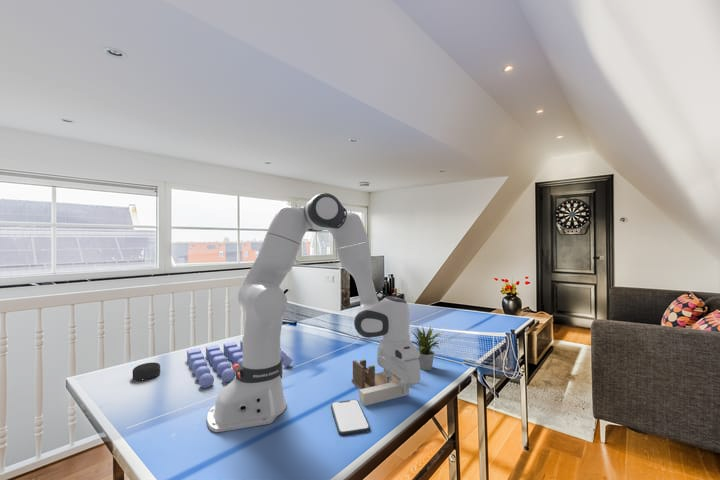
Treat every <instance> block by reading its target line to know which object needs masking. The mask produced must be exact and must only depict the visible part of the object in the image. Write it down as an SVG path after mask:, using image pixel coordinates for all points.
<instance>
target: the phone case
mask: <svg viewBox="0 0 720 480" xmlns="http://www.w3.org/2000/svg"><path fill="white" fill-rule="evenodd" d="M330 410H331V414H332V417H333V420H334V423H335V426H336V430H337V434H338V436H340V437H345V436H352V435H353V436H354V435H358V434H366V433H369V432H371V426H370V424H369V421H368V419H367V418H366V415H365V413H364V409H363V407H361V403H360V401H359V400H357V399H350V400H349V399H348V400H342V401H333V402H331V404H330Z"/></svg>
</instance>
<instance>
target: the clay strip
mask: <svg viewBox="0 0 720 480" xmlns="http://www.w3.org/2000/svg"><path fill="white" fill-rule="evenodd" d="M404 385H405V384H404V382H403V381H402V380H399V381H395V382H391V383H386V384H382V385H378V386H373V387H369V388H364V389H358V390H359V391H358V393H359V394H358V395H359V396H358V397H359V398H358V399H359V400H358V402H359V403H360V405H363V407H365V406H369V405H374V404H377V403H378V404H379V403H382V402H386V401H389V400H392V399H397V398H400V397H401V398H402V397H405V396H408V395H409V394H407V395H405V394H403V393H402V388H403V387H404Z"/></svg>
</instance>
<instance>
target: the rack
mask: <svg viewBox="0 0 720 480" xmlns="http://www.w3.org/2000/svg"><path fill="white" fill-rule="evenodd" d="M391 377H393V379H392V380H393V382H395V381H399V380H401V379H399V378H398V377H396V376H395V375H393V374H392V373H391ZM351 383H352V384H353V385H354V386H356V388H358V390H360V389H364V388H369V387H373V386H378V385H382V384H386V383H388V382H386V376H385V373H384V371H382V372H377V373H376V366H375V365H374V364H373V365H369V366H368V367H367V360H366V359H360V360H359V362H358V361H357V360H355V359H354V360H352V378H351Z"/></svg>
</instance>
